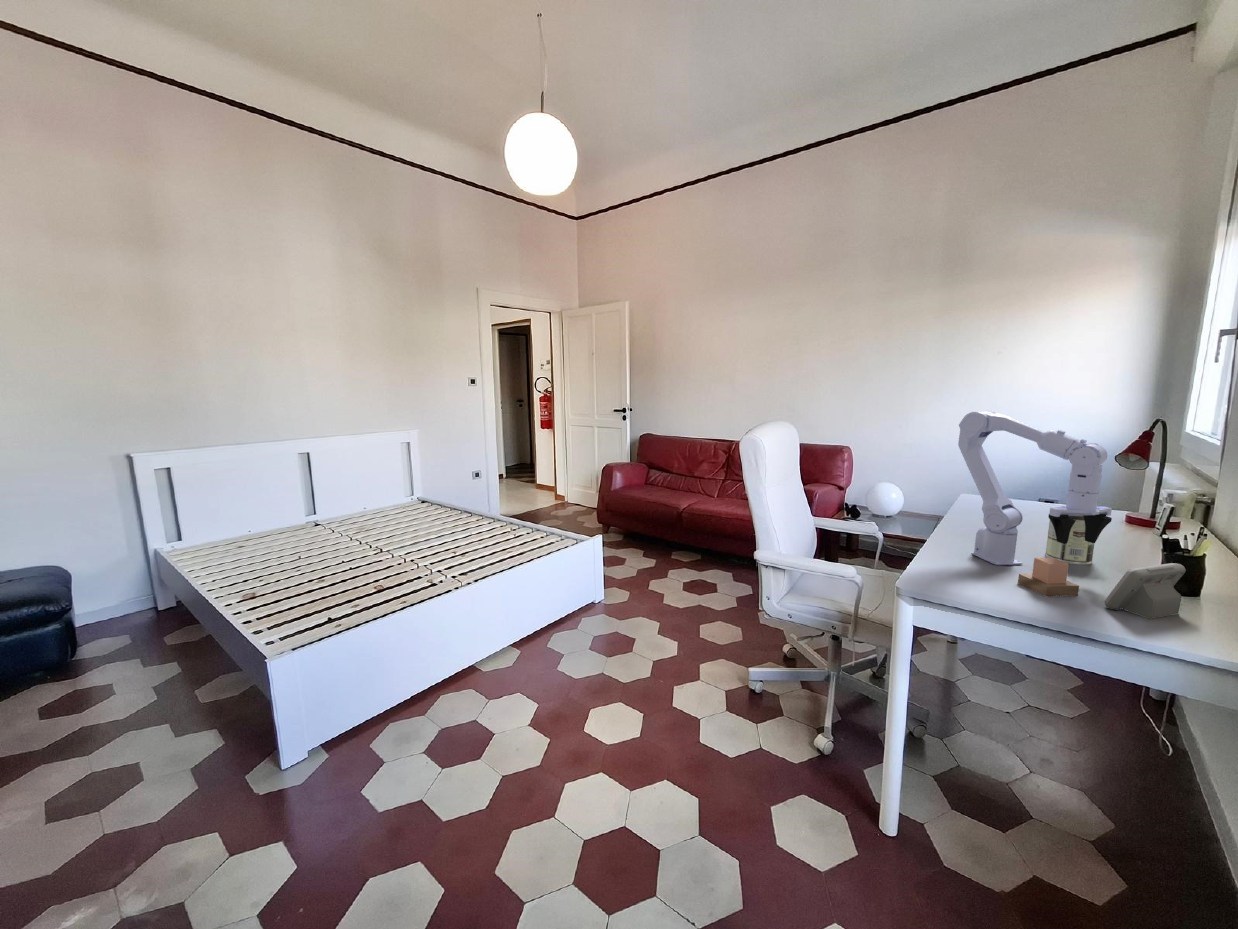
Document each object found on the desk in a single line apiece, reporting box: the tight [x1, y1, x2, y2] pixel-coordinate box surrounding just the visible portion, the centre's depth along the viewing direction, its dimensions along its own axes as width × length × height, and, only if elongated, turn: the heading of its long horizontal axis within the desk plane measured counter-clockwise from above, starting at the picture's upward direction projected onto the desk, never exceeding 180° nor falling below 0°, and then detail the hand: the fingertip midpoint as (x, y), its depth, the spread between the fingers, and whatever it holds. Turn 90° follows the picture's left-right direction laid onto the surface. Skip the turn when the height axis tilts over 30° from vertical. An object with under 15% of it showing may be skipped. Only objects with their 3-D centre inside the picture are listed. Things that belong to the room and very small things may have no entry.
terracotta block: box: [1031, 557, 1070, 584], centre depth 119 cm, size 4×4×5 cm
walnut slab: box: [1017, 572, 1080, 597], centre depth 120 cm, size 8×8×3 cm
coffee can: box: [1044, 515, 1095, 566], centre depth 140 cm, size 10×10×14 cm
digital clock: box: [1104, 562, 1187, 619], centre depth 109 cm, size 16×9×11 cm, turn 93°
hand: (1075, 542), depth 125 cm, fingers open, 7 cm apart
